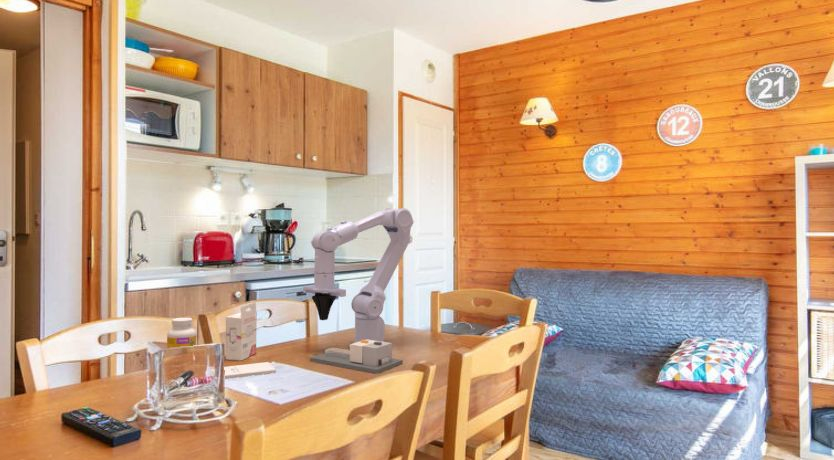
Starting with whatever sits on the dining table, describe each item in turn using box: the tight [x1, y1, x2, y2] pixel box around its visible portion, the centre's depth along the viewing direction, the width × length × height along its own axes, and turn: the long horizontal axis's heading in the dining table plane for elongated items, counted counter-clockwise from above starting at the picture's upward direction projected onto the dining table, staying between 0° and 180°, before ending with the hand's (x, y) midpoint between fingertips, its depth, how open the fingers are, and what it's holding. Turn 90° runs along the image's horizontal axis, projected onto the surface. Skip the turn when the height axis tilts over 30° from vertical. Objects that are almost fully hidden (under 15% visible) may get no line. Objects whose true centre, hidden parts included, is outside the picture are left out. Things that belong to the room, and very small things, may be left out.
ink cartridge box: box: [225, 302, 258, 361], centre depth 150 cm, size 9×5×15 cm, turn 168°
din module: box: [349, 340, 379, 363], centre depth 145 cm, size 8×4×5 cm, turn 149°
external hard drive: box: [223, 361, 277, 380], centre depth 135 cm, size 2×8×12 cm
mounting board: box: [309, 352, 404, 375], centre depth 146 cm, size 12×22×1 cm, turn 59°
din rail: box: [324, 347, 389, 365], centre depth 146 cm, size 4×19×2 cm, turn 59°
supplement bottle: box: [166, 317, 197, 348], centre depth 136 cm, size 7×7×13 cm
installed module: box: [363, 341, 393, 367], centre depth 143 cm, size 8×4×5 cm, turn 149°
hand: (323, 319), depth 157 cm, fingers closed
